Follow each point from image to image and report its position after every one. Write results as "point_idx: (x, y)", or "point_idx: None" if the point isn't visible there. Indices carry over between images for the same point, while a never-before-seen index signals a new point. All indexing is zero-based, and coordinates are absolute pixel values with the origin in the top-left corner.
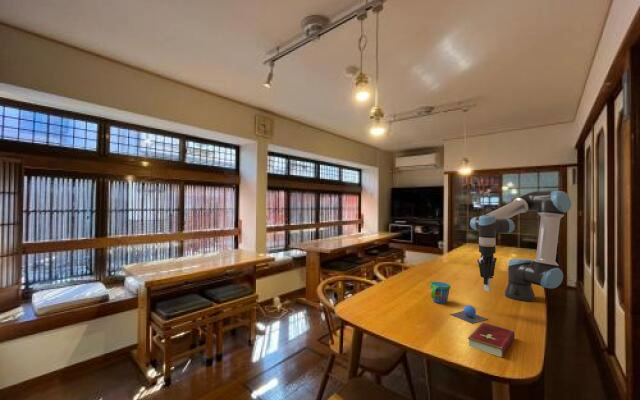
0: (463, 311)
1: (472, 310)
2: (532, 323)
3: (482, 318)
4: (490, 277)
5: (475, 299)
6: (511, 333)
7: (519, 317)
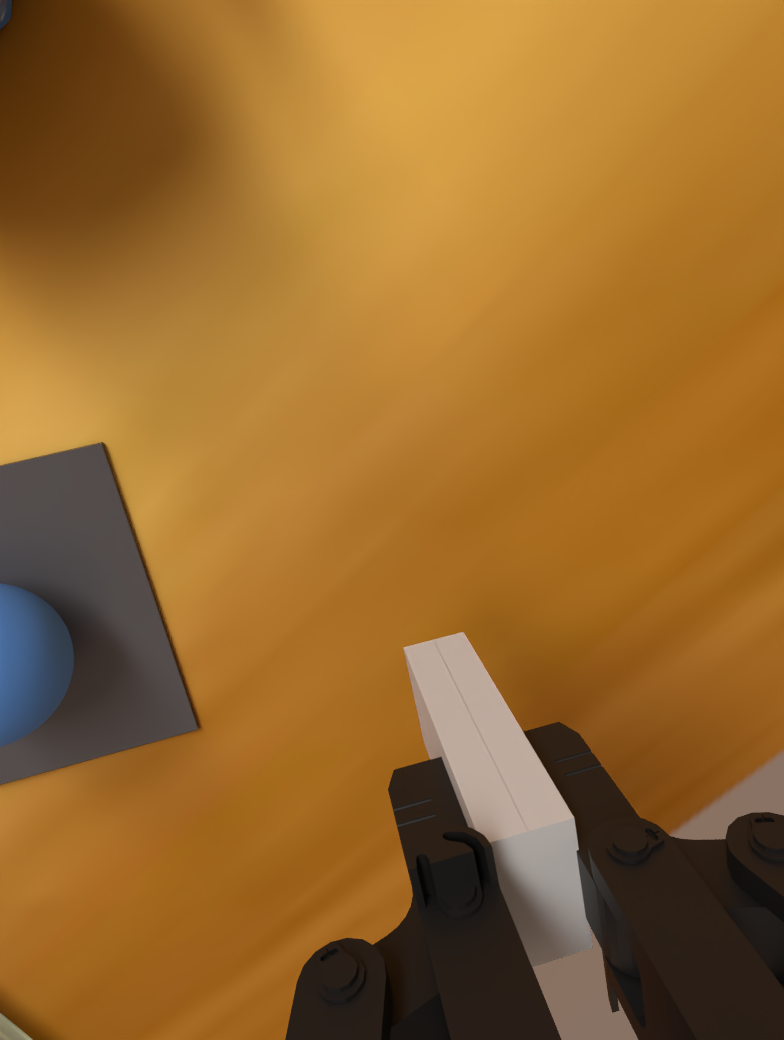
0: (34, 474)
1: None
2: None
3: (136, 711)
4: (606, 973)
5: (646, 50)
6: None
7: (598, 721)
